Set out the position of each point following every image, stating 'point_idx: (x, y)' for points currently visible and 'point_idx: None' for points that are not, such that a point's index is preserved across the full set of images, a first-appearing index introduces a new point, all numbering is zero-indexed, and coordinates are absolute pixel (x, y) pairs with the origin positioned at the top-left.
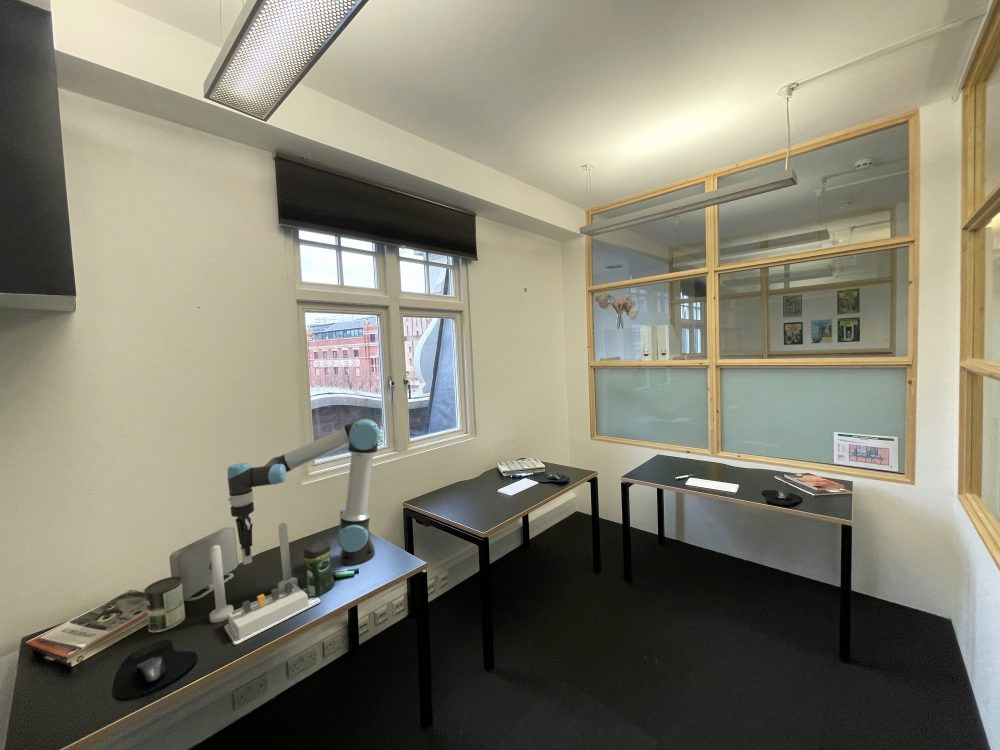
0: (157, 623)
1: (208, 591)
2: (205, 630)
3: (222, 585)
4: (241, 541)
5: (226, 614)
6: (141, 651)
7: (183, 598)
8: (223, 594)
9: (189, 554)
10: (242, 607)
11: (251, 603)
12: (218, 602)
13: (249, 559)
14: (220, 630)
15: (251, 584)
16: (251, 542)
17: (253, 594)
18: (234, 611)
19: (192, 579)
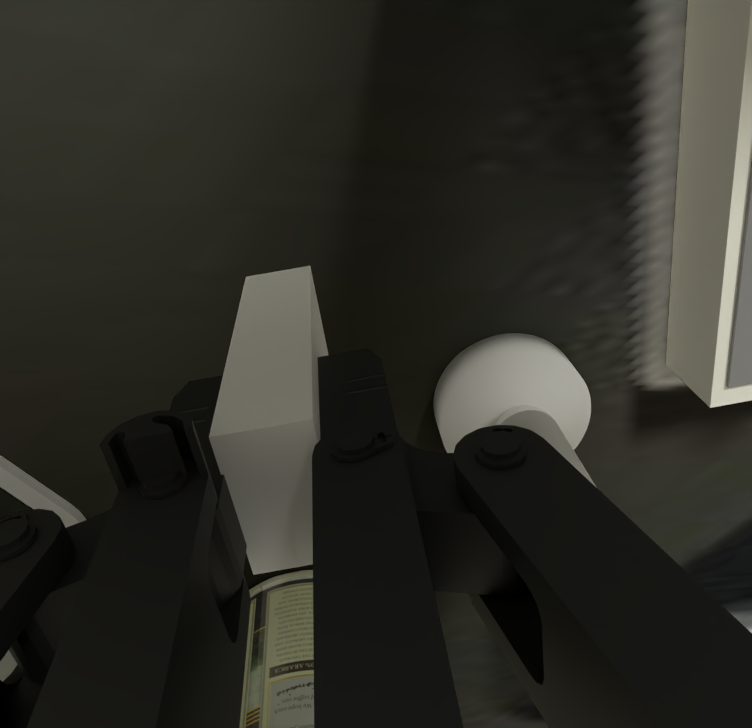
0: None
1: (19, 479)
2: (596, 475)
3: None
4: (239, 701)
5: (587, 391)
6: (521, 684)
7: (309, 678)
8: (594, 485)
9: None
10: (738, 319)
11: (745, 252)
12: None
13: (317, 321)
14: (682, 408)
15: (88, 168)
16: (601, 509)
17: (332, 176)
18: (737, 371)
19: (1, 676)
